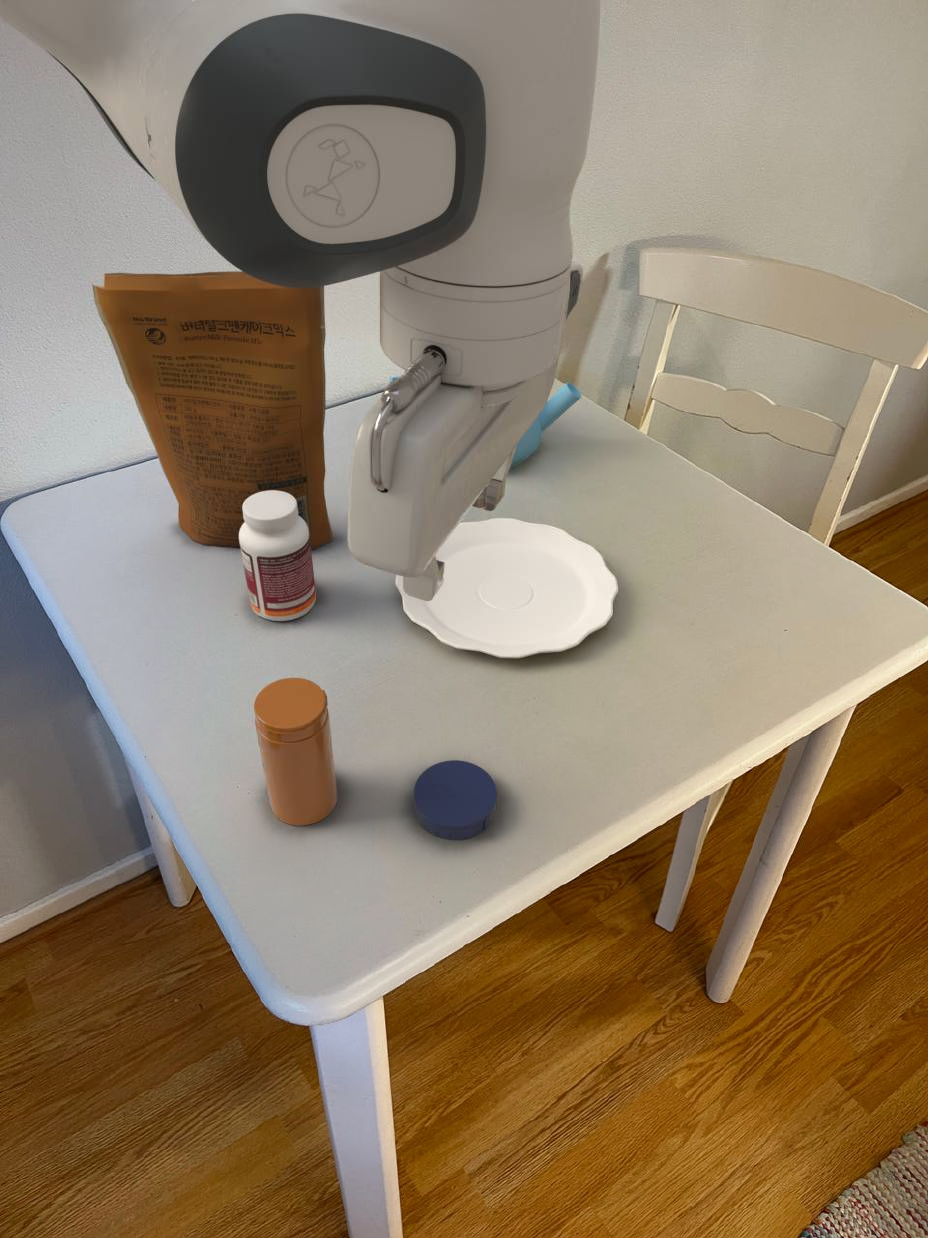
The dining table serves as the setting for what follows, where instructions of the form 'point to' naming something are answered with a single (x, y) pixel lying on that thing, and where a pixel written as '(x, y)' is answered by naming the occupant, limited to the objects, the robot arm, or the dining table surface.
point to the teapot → (542, 421)
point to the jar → (296, 750)
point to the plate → (515, 590)
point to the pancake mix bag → (225, 390)
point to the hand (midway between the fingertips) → (456, 544)
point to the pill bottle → (276, 556)
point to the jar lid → (455, 799)
